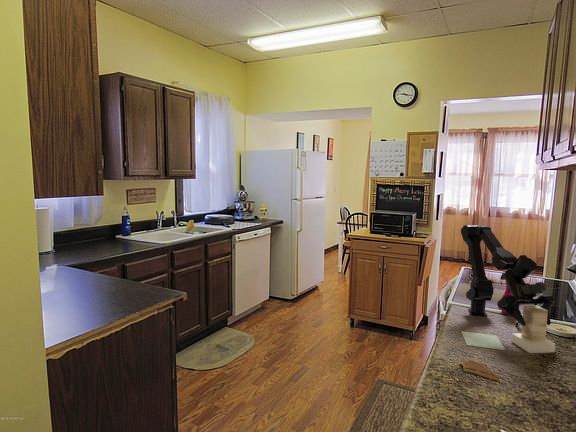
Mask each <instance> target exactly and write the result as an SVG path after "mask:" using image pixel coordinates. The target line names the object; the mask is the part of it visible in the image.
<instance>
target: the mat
mask: <svg viewBox="0 0 576 432" xmlns="http://www.w3.org/2000/svg"><path fill="white" fill-rule="evenodd" d="M461 335H462V336H463V339H464V341H465V344H466V346H468V347H476V348H484V349H492V350H499V351H500V350H501V351H506V348H505V346H504V345H503V344H502V342H501V340H500V338H499V337H498V336H497V334H496V335H495V334H488V333H478V332H469V331H463V330H462V331H461Z"/></svg>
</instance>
